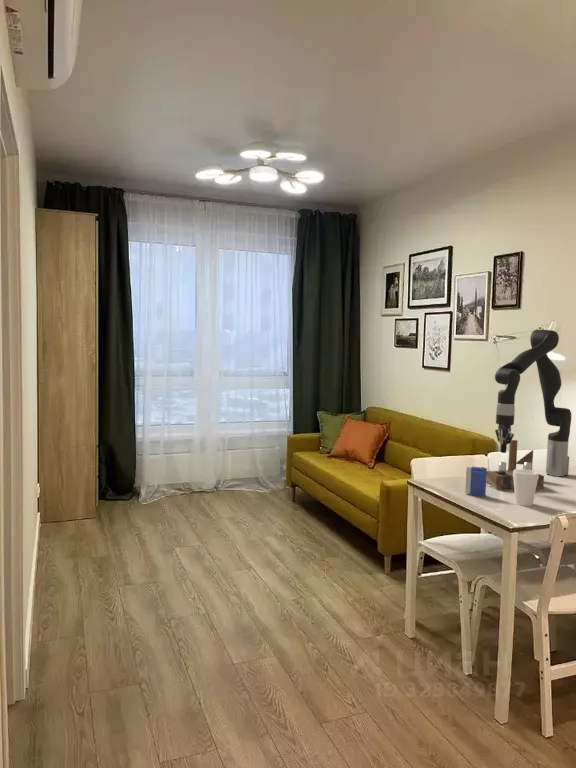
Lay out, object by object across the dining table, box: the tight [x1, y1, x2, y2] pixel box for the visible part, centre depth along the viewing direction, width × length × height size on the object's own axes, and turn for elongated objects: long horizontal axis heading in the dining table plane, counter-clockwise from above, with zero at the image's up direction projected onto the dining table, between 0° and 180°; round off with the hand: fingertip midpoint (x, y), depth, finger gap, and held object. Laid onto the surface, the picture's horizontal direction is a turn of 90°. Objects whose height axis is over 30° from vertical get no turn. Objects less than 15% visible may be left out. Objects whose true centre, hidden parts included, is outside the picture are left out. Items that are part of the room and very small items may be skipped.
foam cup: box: [513, 468, 540, 507], centre depth 235 cm, size 10×9×13 cm
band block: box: [486, 470, 545, 490], centre depth 263 cm, size 22×10×6 cm, turn 97°
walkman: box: [464, 465, 488, 497], centre depth 247 cm, size 8×3×12 cm, turn 62°
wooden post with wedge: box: [506, 439, 534, 471], centre depth 280 cm, size 4×11×18 cm, turn 60°
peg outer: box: [497, 461, 507, 475], centre depth 262 cm, size 3×3×6 cm
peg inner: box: [524, 462, 533, 471], centre depth 263 cm, size 3×3×6 cm
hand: (503, 452), depth 261 cm, fingers closed
